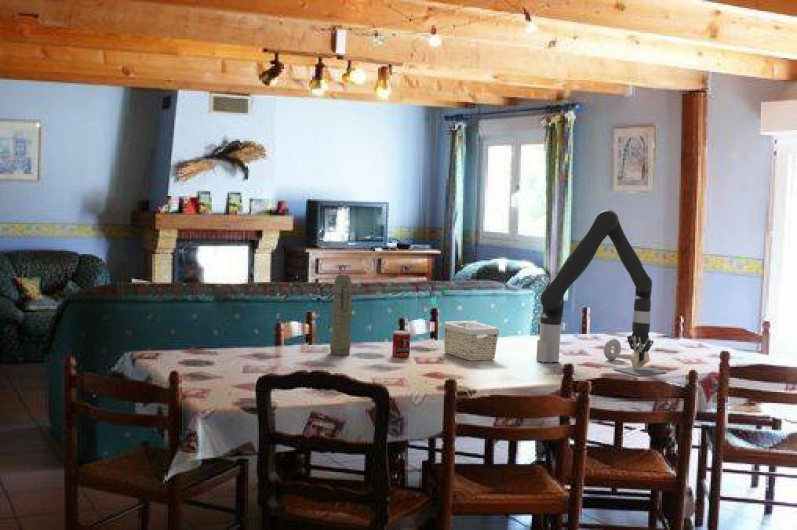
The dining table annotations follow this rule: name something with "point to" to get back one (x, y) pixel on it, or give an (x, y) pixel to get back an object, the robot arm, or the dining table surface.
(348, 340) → the grey-green tall rounded block
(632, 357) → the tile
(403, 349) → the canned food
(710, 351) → the dining table surface
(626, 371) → the mat
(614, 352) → the donut
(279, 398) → the dining table surface
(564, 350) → the dining table surface
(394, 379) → the dining table surface
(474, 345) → the storage basket
